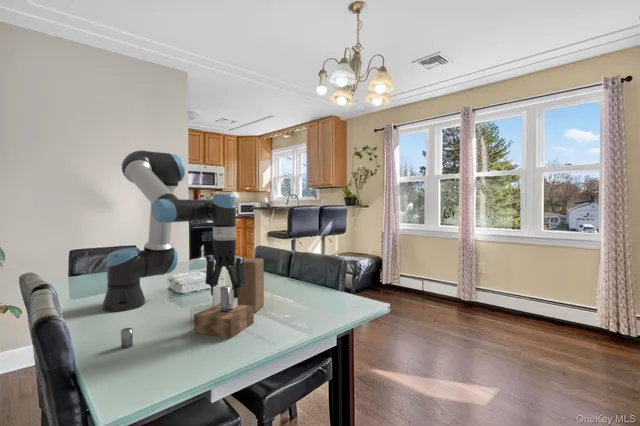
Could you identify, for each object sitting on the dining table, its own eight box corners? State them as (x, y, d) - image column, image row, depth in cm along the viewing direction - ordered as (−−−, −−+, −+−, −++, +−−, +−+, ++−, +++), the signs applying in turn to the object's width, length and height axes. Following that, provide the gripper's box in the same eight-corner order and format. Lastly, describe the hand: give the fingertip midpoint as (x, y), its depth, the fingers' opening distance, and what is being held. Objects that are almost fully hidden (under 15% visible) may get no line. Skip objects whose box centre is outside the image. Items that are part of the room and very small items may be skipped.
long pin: (218, 328, 112) (218, 287, 111) (223, 325, 115) (224, 285, 114) (226, 329, 111) (226, 288, 110) (231, 326, 114) (231, 286, 113)
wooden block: (255, 313, 127) (255, 262, 126) (231, 312, 129) (230, 261, 128) (264, 305, 137) (264, 258, 136) (242, 304, 139) (242, 257, 138)
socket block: (194, 332, 108) (194, 314, 108) (220, 318, 122) (220, 302, 121) (231, 338, 104) (230, 319, 104) (253, 323, 117) (253, 306, 117)
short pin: (118, 347, 97) (118, 331, 97) (127, 343, 100) (127, 327, 100) (126, 349, 96) (126, 332, 96) (135, 345, 99) (134, 328, 99)
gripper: (193, 239, 111) (194, 306, 112) (243, 241, 105) (244, 312, 106) (207, 237, 118) (208, 300, 119) (255, 238, 112) (255, 305, 113)
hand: (225, 306), depth 112 cm, fingers open, 7 cm apart
